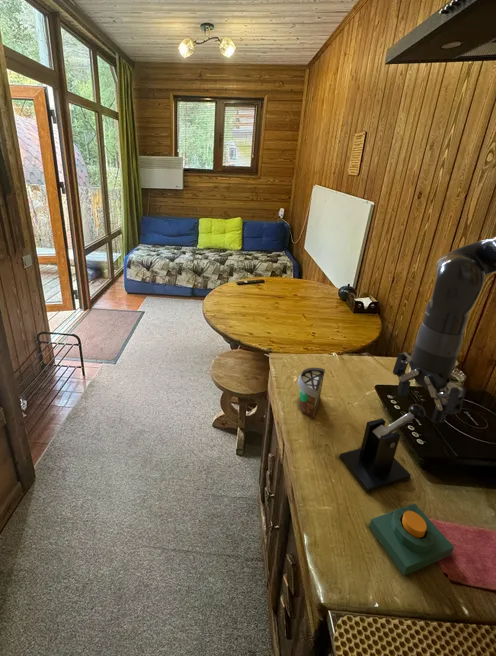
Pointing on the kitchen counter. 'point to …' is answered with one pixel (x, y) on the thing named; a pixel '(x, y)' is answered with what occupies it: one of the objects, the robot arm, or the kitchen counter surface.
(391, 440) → the bracket
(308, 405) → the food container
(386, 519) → the button panel
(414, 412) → the lever
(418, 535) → the button
